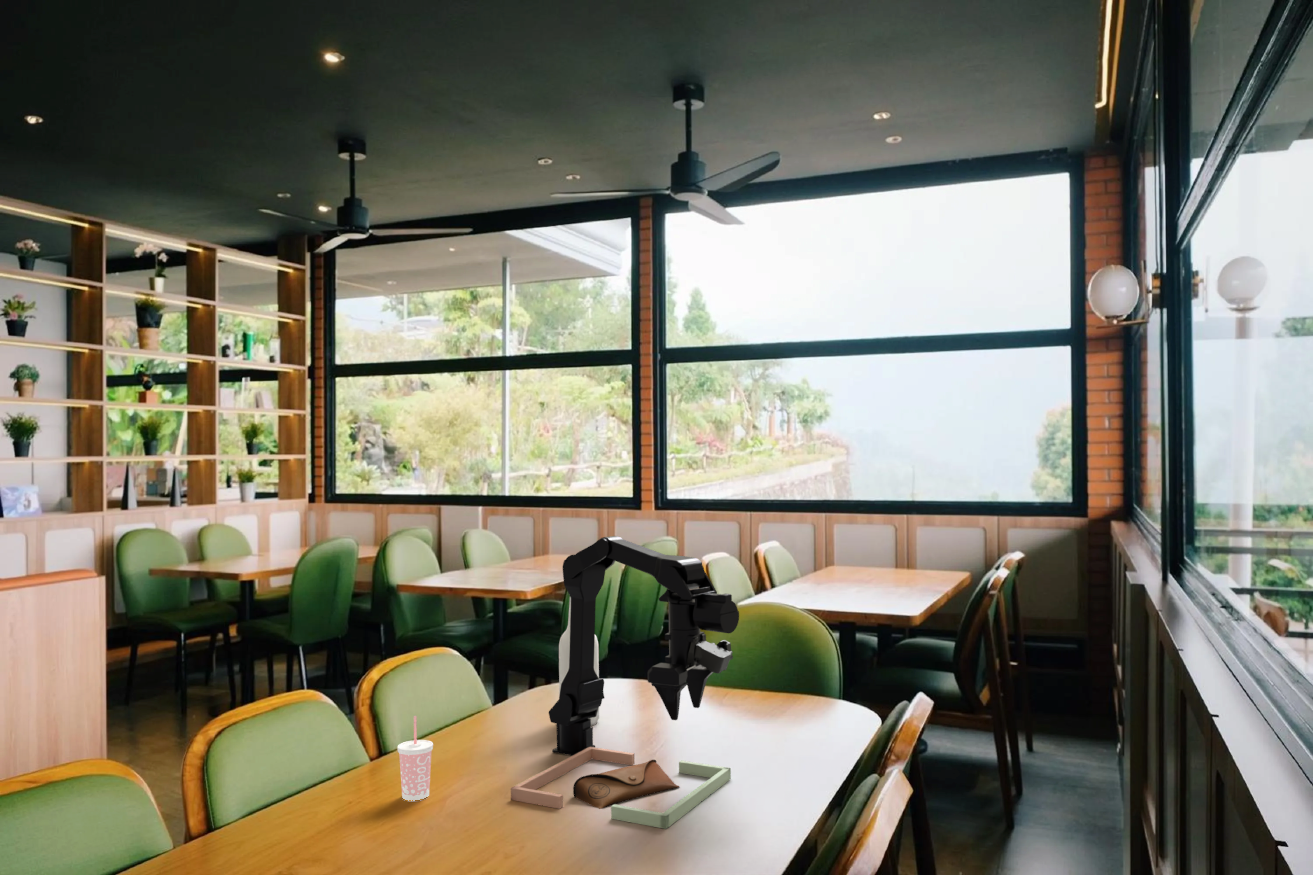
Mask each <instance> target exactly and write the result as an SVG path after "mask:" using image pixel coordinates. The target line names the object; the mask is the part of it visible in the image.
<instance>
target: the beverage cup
mask: <svg viewBox="0 0 1313 875" xmlns="http://www.w3.org/2000/svg"><path fill="white" fill-rule="evenodd" d="M417 722H418V721H417V715H413V740H407V741H404V742H400V743H399V744H398V745H397V753H399V755H398V756H399V767H400V768H399V769H400V770H399V771H400V780H401V783H400V784H401V796H402V797H401V799H402V798H403V799H405V800H408V801H407V802H416V801H415V800H420V799H424V798H426V797H428V796H430V789H431V788H430V787H431V786H430V785H431V784H430V783H431V770H432V769H431V768H432V767H431V765H432V751H433V749H434V743H433V741H431V740H428V739H417V737H418V736H417V735H418V734H417V731H418V730H417ZM428 798H429V797H428ZM403 799H402V800H403ZM426 799H427V798H426ZM405 800H404V801H405ZM409 800H411V801H409ZM412 800H413V801H412ZM424 800H425V799H424ZM420 801H421V800H420Z"/></svg>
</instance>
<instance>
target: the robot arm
mask: <svg viewBox="0 0 1313 875" xmlns="http://www.w3.org/2000/svg"><path fill="white" fill-rule="evenodd" d="M615 562H617V563H620V564H622V565H625V566H627V567H629V568H632V569H635V570H638V571H641V572H642V573H645V574H647V575H650V576H652V577H653V578H654V579H655V580H656V582H657V584H659V585H661V586H663V587H664V588H666V590H665V592H664V593H663V594H662V595H661V596H660V597H658V601H659V602H661V603H668V632H667V633H665V634H664V640H665V641H668V647H669V648H668V650H669V652H668V653H669V654H668V655H666V656H664V662H659V663H657V664H655V665H652V666H651V667H650V668H649V669H648V670H647V683H649V684H651V686H652V687H654V688H655V690H656V692H657V693H658V695H659V697H660V699H661V701H662V703H663V705H664V706H665V710H666V711H667V713H668V715H669V717H670V719H671V721H678V719H679V714H680V713H679V712H680V703H681V695H682V694H681V692H682V691H683V689H684V688H686V686H687V690H688V693H689V697H690V700H691V704H692V706H693V708H694V709H699V708H700V707H701V703H702V699H703V695H704V693H705V687H706V684H707V682H708V678H709V677H710V676H711V675H712V674H721V673H722V672H723V671H727V669H728V666H729V663H730V661H731V660H733V658H734V656H733V651H732V645H731V642H729V641H728V640H726V639H723V640H721V641H719V642H718V643H715V642H709V641H707V635H706V634H705V631H707V632H708V631H709V632H716V633H723V634H732V633H734V631H735V630H736V629H737V627H738V624H739V621H740V611H739V609H738V606H737V604H736V603H735V602H734V601H733V598H732V597H733V595H732V594H731V593H722V594H721V593H718V591H717V590H716V588H715V586H714V585H713V583H712V581H711V579H710V577H709V576H708V575H707V573H706V571H705V568H704V565H703V561H701V560H700V559H699V558H697V557H693V556H685V555H672V554H671V555H670V554H665V553H661V552H659V551H656V550H653V549H650V548H648V547H646V546H642V545H639V544H636V543H635V542H632V541H629V540H626V539H624V538H622V537H620V536H618V535H612V536H603V537H601V538H600V539H598V540H596V542H594V543H593V544H591V545H588V546H587V547H585V548H583V549H581V550H579V551H578V552H576V553H574V554H570V555H569V556H567V557H566V559H564V560H563V562H562V577H563V578H562V579H563V586H564V587H565V589H566V591H567V593H568V596H569V598H570V597H571V616H570V652H569V670H568V672H567V674H566V676H565V678H564V680H563V682H562V684H561V689H560V695H558V700H557V701H556V702H555V703H554V705H553V706H552V707H551V708H550V709H549V710H548V716H549V720H550V723H551V724H555V725H556V747H555V748H553V749H551V750H552V753H554V754H555V753H556V754H562V755H568V756H573V755H575V754H577V753H579V752H581V751H583V750H584V749H586V748H588V747H595V748H596V745H595V744H594V737H593V736H594V734H593V733H594V731H593V727H592V726H591V719H589V718H592V717H596V715H597V711H598V708H599V709H600V707H601V705H602V702H603V700H604V699H605V693H604V688H605V687H604V686H605V680H604V678H600V677H599V678H598V676H597V674H596V672H595V671H594V643H595V635H596V634H595V633H596V632H595V631H596V606H597V603H596V601H597V596H598V594H599V593H600V591H601V589H602V587H603V585H604V583H605V582H604V581H605V576H606V571H607V570H608V569H610V568H611V567H612V566H613V565H614V564H615ZM701 630H702V631H701Z"/></svg>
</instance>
